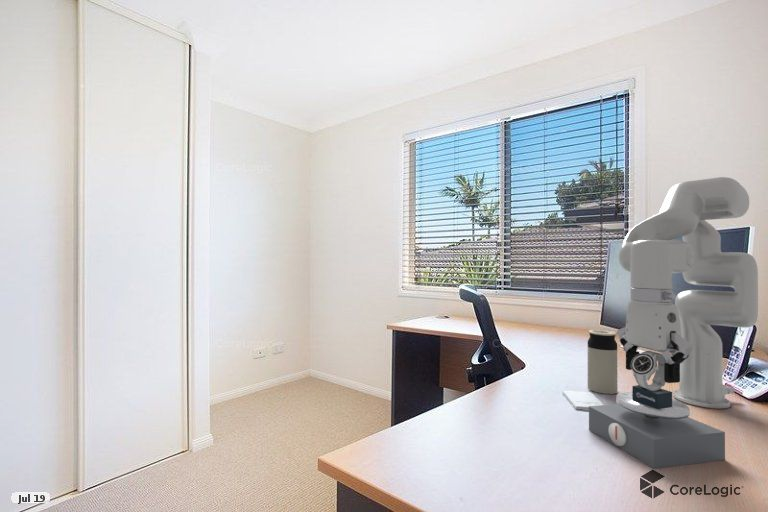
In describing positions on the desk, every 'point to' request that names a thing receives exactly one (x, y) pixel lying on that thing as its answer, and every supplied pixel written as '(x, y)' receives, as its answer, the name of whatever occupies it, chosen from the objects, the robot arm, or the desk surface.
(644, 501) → the desk surface
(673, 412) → the scale pan
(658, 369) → the watch
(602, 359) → the travel mug
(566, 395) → the external hard drive
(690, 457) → the scale
